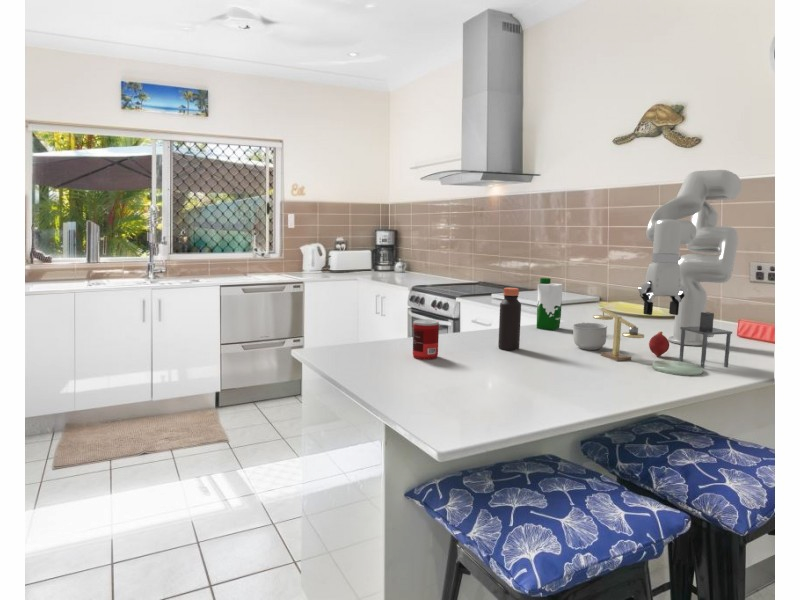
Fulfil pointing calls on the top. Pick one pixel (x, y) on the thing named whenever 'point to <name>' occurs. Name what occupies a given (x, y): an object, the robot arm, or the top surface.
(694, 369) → the dish
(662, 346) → the onion
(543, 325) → the milk carton
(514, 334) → the bottle
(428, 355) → the canned food
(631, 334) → the balance
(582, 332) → the teacup
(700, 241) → the robot arm
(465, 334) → the top surface
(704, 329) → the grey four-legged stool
